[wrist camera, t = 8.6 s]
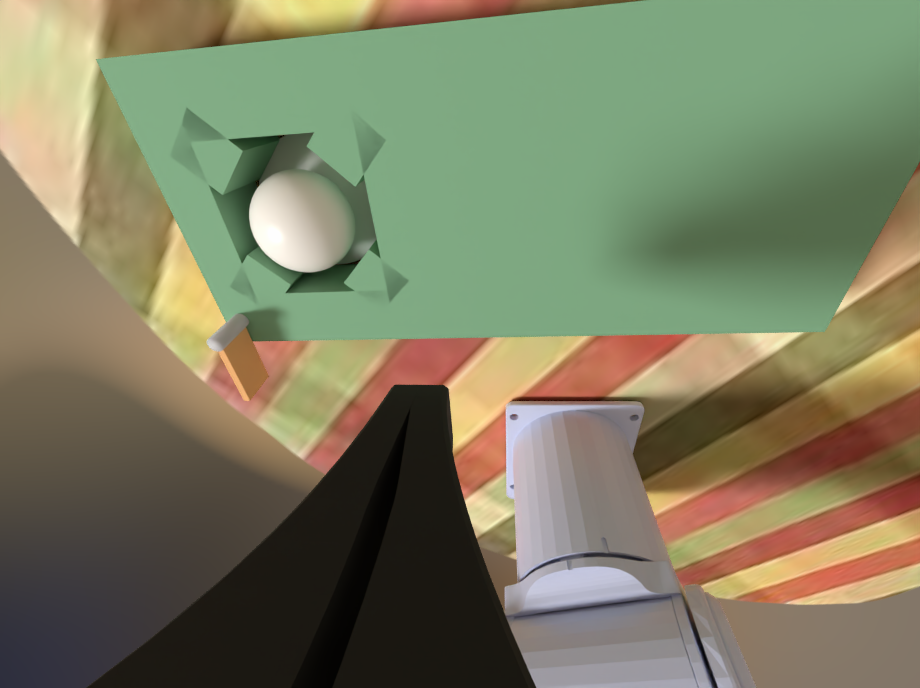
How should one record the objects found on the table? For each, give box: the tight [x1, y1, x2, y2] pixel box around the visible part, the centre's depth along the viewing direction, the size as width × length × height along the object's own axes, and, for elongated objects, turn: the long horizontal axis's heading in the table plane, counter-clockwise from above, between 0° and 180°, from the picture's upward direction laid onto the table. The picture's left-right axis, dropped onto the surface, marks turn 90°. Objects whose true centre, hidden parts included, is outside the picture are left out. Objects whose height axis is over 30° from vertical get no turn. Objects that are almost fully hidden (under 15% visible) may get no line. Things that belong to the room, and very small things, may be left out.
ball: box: [249, 169, 355, 272], centre depth 16 cm, size 4×4×4 cm
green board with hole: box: [96, 0, 920, 401], centre depth 15 cm, size 13×26×5 cm, turn 94°
